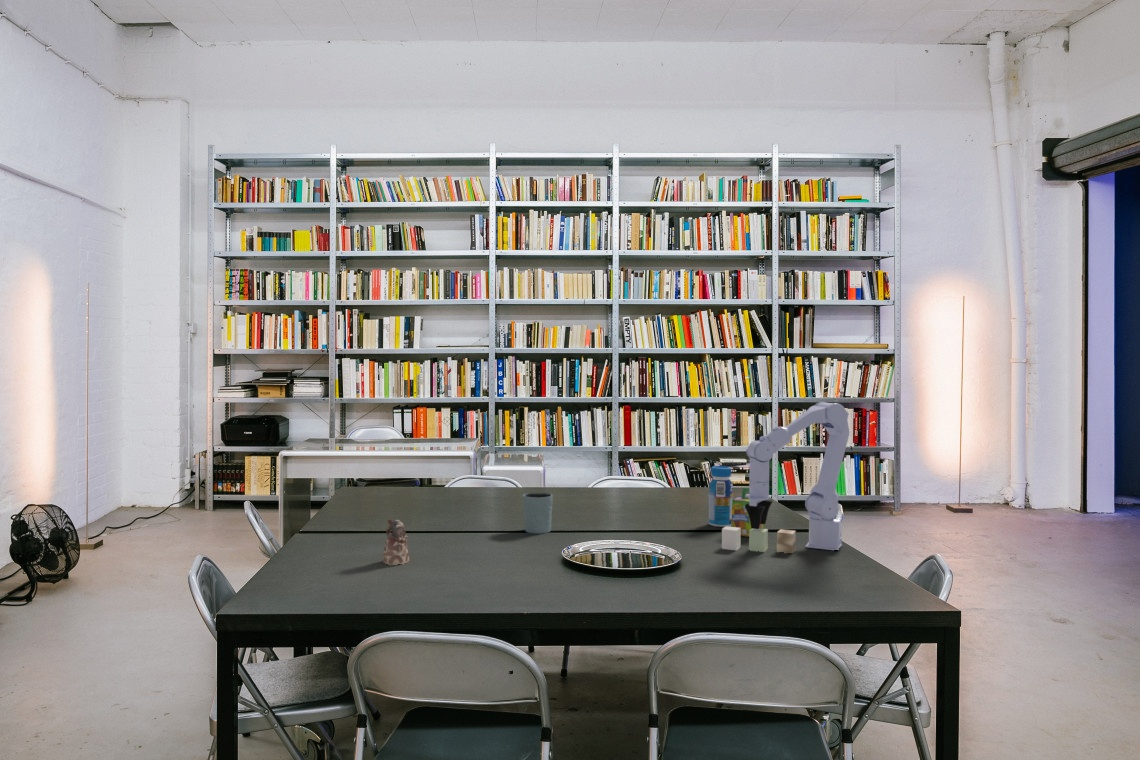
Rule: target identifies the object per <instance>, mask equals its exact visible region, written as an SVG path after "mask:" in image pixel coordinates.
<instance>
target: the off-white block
mask: <svg viewBox="0 0 1140 760" xmlns="http://www.w3.org/2000/svg"><path fill="white" fill-rule="evenodd" d="M741 537H742V536H741V528H738V527H731V526H726V527H722V528H721V549H722V550H729V551H738V550H739V549H741V541H742V540H741V539H742V538H741Z"/></svg>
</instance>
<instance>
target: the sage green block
mask: <svg viewBox="0 0 1140 760" xmlns="http://www.w3.org/2000/svg"><path fill="white" fill-rule="evenodd" d="M768 541H769V529H768V528H765V529H760V528H759V529H751V530H749V539H748V551H749V550H750V552H758V551H759V552H758V553H765V552H766V551H767V550H768V549H769V547H768V546H769V544H768V543H769V542H768Z"/></svg>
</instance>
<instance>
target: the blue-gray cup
mask: <svg viewBox="0 0 1140 760" xmlns="http://www.w3.org/2000/svg"><path fill="white" fill-rule="evenodd" d="M553 502H554V501H553V494H552V493H550V492H527V493H523V494H522V503H523V515H524V517H523V518H524V530H525V532H526V533H529V534H546V533H550V532H551V531H552V513H553Z"/></svg>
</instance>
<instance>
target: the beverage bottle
mask: <svg viewBox="0 0 1140 760" xmlns="http://www.w3.org/2000/svg"><path fill="white" fill-rule="evenodd" d="M710 468H711V469H710V470H711V471H710V474H711V477H712V479H711V480H710V482H709V485H708V488H709V492H708V524H709V525H710V526H712V527H719V528H724V527H726V526H729V527H731V521H732V500H734V492H733V489H734V485H733V483H732V481H731V479H730V478H731V477H732V468H731V466H728V465H727V466H726V465H715V466H714V465H713V466H712V467H710Z"/></svg>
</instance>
